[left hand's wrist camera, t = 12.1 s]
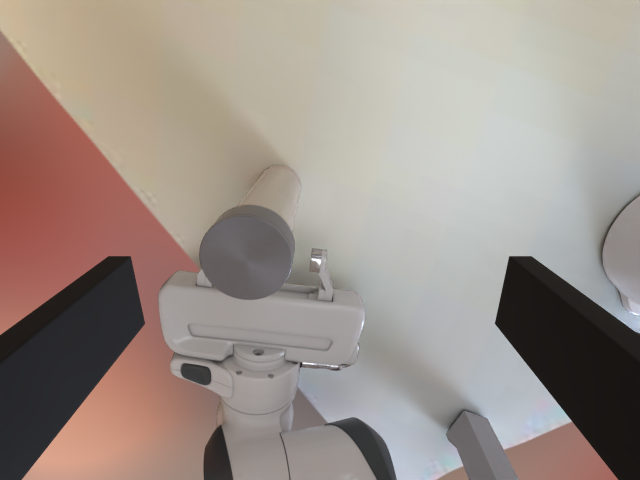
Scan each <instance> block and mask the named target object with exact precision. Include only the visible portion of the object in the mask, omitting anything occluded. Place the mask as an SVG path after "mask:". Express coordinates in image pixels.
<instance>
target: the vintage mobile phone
mask: <svg viewBox="0 0 640 480" xmlns="http://www.w3.org/2000/svg"><path fill="white" fill-rule="evenodd" d="M446 435H447V438H448V440H449V441H450V442H451V443H452V444H453V445H454V446H455V447H456V448H457V450H458V453H459V455H460V458H461V460H462V463H463V465H464V468H465V471H466V473H467V476H468V478H469V480H519V479H518V477H517V475H516V473H515V471H514V469H513V467H512V465H511V463H510V461H509V459H508V457H507V456H506V454H505V452H504V450H503V448H502V446H501V444H500V442H499V440H498V438H497V436H496V434H495V433H494V431H493V429H492V427H491V425H490V423H489V421H488V419H487V418H485V417H482V416H479V415H476V414H473V413H470V412H467V411H463V412H462V414H461V415H460V416H459V418H458V419H457V420H456V421H455V423H454V424H453V425H452V427H451V428H450V429H449V430H448V432H447V434H446Z"/></svg>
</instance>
